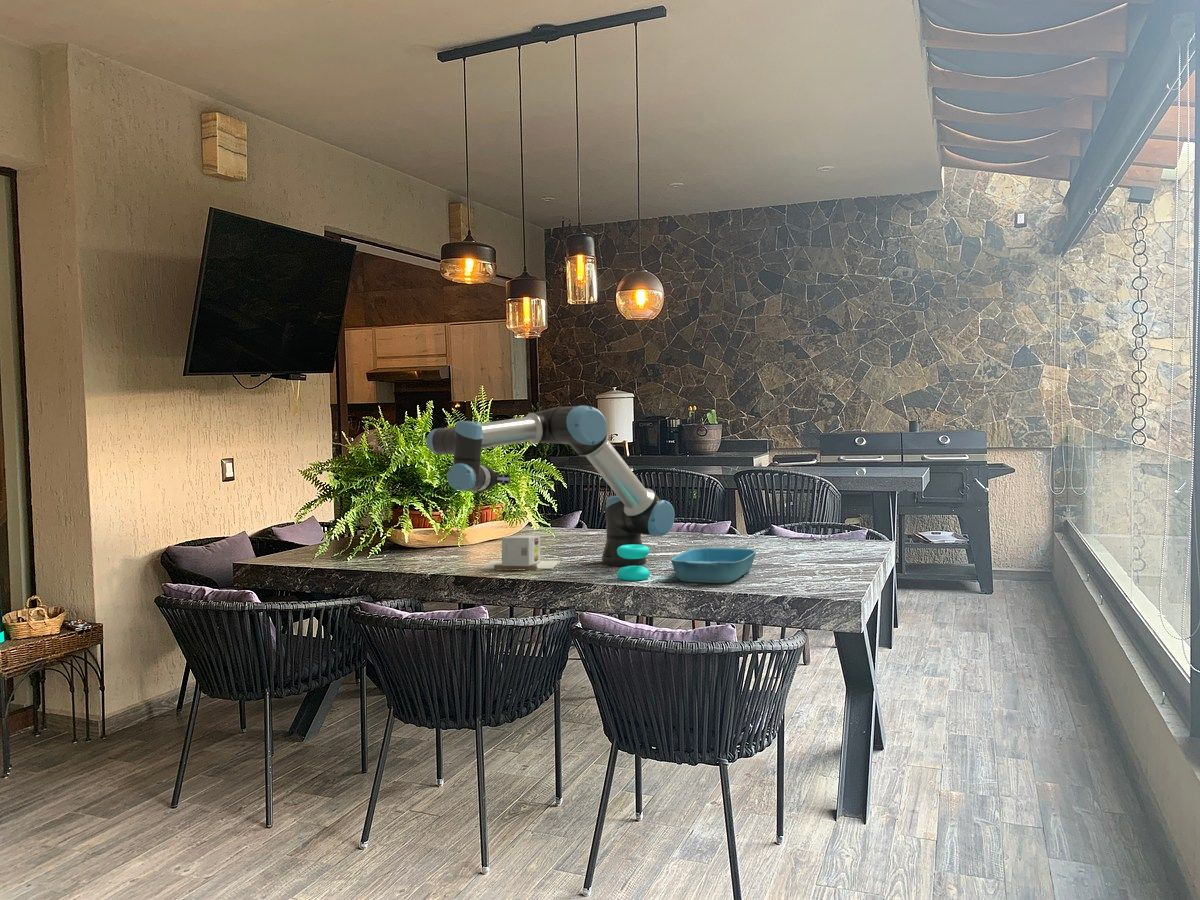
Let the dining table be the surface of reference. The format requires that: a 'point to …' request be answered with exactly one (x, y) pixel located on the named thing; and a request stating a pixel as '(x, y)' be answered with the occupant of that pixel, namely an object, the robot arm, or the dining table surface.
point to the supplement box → (520, 550)
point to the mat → (532, 567)
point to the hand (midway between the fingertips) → (507, 479)
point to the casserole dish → (713, 564)
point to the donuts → (633, 571)
